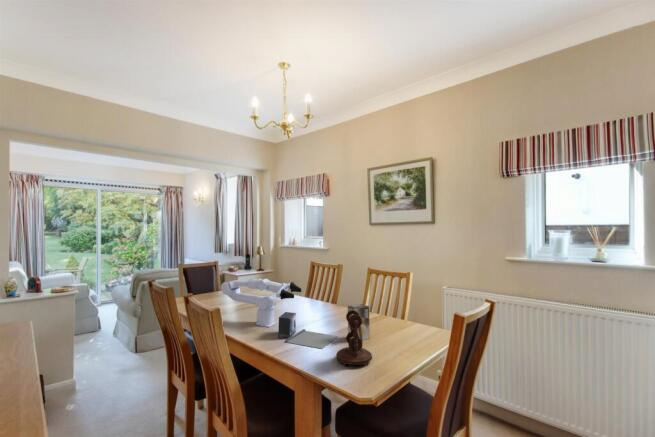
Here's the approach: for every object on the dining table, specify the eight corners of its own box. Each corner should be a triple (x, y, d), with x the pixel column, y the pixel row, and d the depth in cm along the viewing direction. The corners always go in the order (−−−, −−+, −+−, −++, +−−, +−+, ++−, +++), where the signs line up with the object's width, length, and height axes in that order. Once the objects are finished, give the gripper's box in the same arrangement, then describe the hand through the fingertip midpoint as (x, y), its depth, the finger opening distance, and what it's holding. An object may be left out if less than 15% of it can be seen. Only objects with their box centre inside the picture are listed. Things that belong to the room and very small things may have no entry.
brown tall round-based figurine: (375, 367, 123) (375, 316, 124) (338, 369, 122) (338, 317, 123) (367, 352, 138) (367, 307, 138) (334, 353, 137) (334, 308, 137)
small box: (290, 339, 155) (290, 318, 155) (277, 338, 156) (277, 317, 156) (296, 332, 165) (296, 312, 166) (284, 331, 167) (284, 311, 167)
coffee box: (362, 335, 161) (362, 303, 161) (369, 338, 155) (369, 306, 155) (347, 338, 156) (347, 305, 157) (354, 342, 151) (354, 308, 151)
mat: (285, 342, 151) (285, 340, 151) (303, 331, 167) (303, 329, 167) (322, 349, 142) (322, 346, 142) (337, 336, 158) (337, 334, 158)
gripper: (269, 286, 169) (290, 292, 163) (283, 276, 182) (304, 281, 176) (269, 298, 171) (290, 304, 165) (284, 287, 183) (304, 292, 178)
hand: (297, 293), depth 171 cm, fingers open, 7 cm apart
